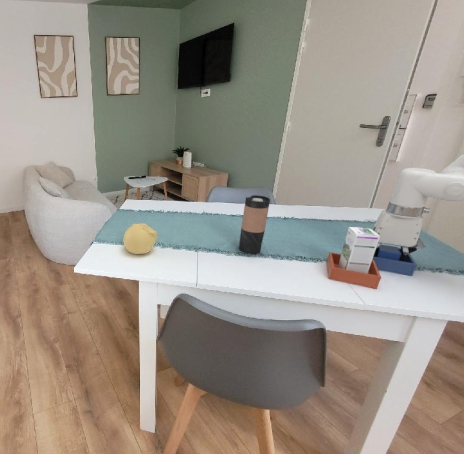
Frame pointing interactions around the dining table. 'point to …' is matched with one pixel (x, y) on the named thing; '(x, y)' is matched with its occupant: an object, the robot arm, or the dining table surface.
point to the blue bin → (396, 265)
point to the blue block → (388, 252)
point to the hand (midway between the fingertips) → (384, 261)
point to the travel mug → (253, 224)
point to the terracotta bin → (352, 273)
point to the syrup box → (358, 249)
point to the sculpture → (140, 238)
